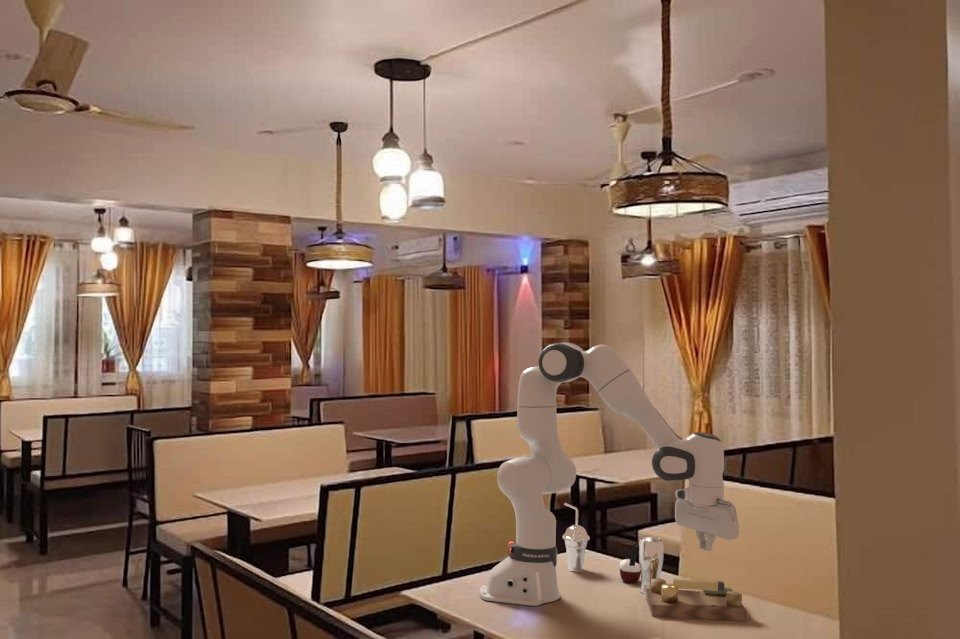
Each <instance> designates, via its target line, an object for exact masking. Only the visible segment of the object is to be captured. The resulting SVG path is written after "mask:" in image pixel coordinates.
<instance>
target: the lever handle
mask: <svg viewBox="0 0 960 639" xmlns="http://www.w3.org/2000/svg"><path fill="white" fill-rule="evenodd" d="M672 581H673V582H672V583H667V582H666V584H662V585H661V600H663V601H666V602H677V601H678V590H691V591H703V590H712V591H724V587H725V582H724V581H719V580H699V579H697V580H693V579H675V578H674V579H672Z"/></svg>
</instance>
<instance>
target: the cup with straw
mask: <svg viewBox="0 0 960 639" xmlns="http://www.w3.org/2000/svg"><path fill="white" fill-rule="evenodd" d="M563 505H564V506H566V507H569V508H571V509H573V510H575V524H572V525H570V526H569V527H567V528H566V530H565V533H563V534H562V539H563V540H564V545H565V549H566V551H565V552H566V560H567V561H566V562H567V563H566V564H567V567H568V568H567V570H568V571H570V572H573V571H575V573H576V572H578V573H579V572H582V571H583V570H584V569H583V568H584V564H585V554H586V548H587V544H588V541H590V536H589V535H588V533H587V530H586V529H585V528H584V527H583V526H581V525H579V509H578V508H577V507H576V506H574V505H572V504H569V503H567V502H564V503H563Z"/></svg>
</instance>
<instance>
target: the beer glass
mask: <svg viewBox="0 0 960 639" xmlns="http://www.w3.org/2000/svg"><path fill="white" fill-rule="evenodd" d="M664 555H665V554H664V539H662V538H661V537H657V536H642V537H639V544H638V562H639V563H638V564H640V570H641V575H640V578H641V579H640V585H639V592H640V593H641V594H644V595H646V588H651V579H656V578H657V579H661V574H662V569H663V564H664Z"/></svg>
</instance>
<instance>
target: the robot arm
mask: <svg viewBox="0 0 960 639" xmlns="http://www.w3.org/2000/svg"><path fill="white" fill-rule="evenodd" d="M581 378H583V379H585V380H586V381H588V382H589V384H590V385H591V386H592V388H593V389H594V390H595V391H596V392H597V395H599V397H600V398H601V400H602V401H603V402H604V403H605V405H606V406H608V407H609V409H611V410H612V411H613V412H614V413H616V414H618V415H621V416H625V417H627V418H629V419H631V420H633V421H634V422H636V424H637V425H639V426H640V428H641V429H642V431H644V433H645V434H646V435H647V437H648V438H649V439H650V441H651V442H652V443H653V445H654V446H655V448H656V449H657V450H656V451H655V452H654V453H653V456H652V458H651V459H652V460H651V466H652V469H653V471H654V473H655V474H656V476H657V477H658V478H660V479H661V480H664V481H667V482H676V481H683V480H684V481H685V480H688V487H685V488H680V489H677V490H675V493H674V496H675V498H676V501H675V503H674V505H675V506H674V519H675V522H676V524H677V525H678V526H681V527H685V528H687V529H691V530H694V531H695V535H696V538H697V540H698V542H699V544H698V545H699V549H701V550H705V551H707V552H711V551H712V550H713V544H714V542H715V540H716V538H717V537H718V538H721V539H724V540H726V541H727V540H729V541H730V540H736V539H738V537H739V535H740V530H739V527H740V526H739V518H738V513H737V508H736V507H735V505H734V504H733V502H731V501H727V500H725V496H724V495H725V483H724V478H723V474H724V470H725V452H724V446H723V442H722V440H721V438H720V437H718V436H717V435H713V434H711V433H708V432H707V433H706V432H701V431H700V432H699V431H694V432H692V433H691V434H689V435H688V436H686V437H684V438H682V437H681V436H679V435H678V434H676V432H675V431H674V430H673V429H672V427H670V425H669V424H668V423H667V421H666V420H665V419H664V418H663V417H662V415H661V414H660V413H659V411H658V410H657V409H656V408H655V406H654V405H653V403H652V401H651V400H650V398H649V397H648V395H647V394H646V392H645V390H644V387H643V386H642V385H641V383H640V382H639V379H637V376H636V375H635V374H634V372H633V371H632V370H631V368H630V367H629V365H628V364H627V363H626V362H625V361H624V359H622V357H621V356H620V355H619V354H618V353H617V352H616V351H615V350H614V349H613V348H612V347H610V346H609V345H606V344H597V345H594V346H592V347H591V348H589V349H588V350H585V348H584V347H583V346H581V345H579V344H577V343H572V342H567V341H566V342H565V341H563V342H562V341H561V342H555V343H551V344H549V345H547V346H546V347H545V348H544V349H543V350H542V351H541V353H540V354H539V357H538V366H531V367H527V368H526V369H524V370H523V371H522V372H521V374H520V377H519V380H518V382H519V383H518V390H517V403H516V404H517V406H516V408H517V409H516V410H517V412H516V413H517V414H516V416H517V417H516V419H517V420H516V422H517V424H516V426H517V427H516V428H517V429H516V430H517V434H518V436H519V437H520V438H521V439H522V440H524V441H525V442H527V444H528V446H529V450H530V456H518V457H514V458H512V459H509V460H507V461H504V462H503V463H501V465H499V468H498V470H497V474H496V481H497V485H498V488H499V489H500V491H501V492H502V494H503V495H504V496H506V497H507V498H508V500H509V501H510V502H511V504H512V507H513V509H514V510H513V511H514V513H515V514H514V515H515V525H516V526H515V529H516V530H515V531H516V532H515V542H514V541H511V540H510V541H509V542H508V544H507V549H508V556H507V557H506V558H504V559H503V560H502V561H500V562H499V563H498V564H496V565H495V566H494V567H492V568H491V570H490V573H489V576H488V579H487V582H485V583H484V584H482V585H481V586H480V588H479V597H480V598H481V599H482V600H484V601H489V602H491V601H492V602H497V603H507V604H514V605H523V606H524V605H525V606H533V607H536V606H541V604H546V603H552V602H555V601H557V600H559V599H560V598H561V593H560V590H559V586H558V579H557V578H558V577H557V564H558V546H557V544H556V537H557V534H556V532H557V531H556V530H557V527H556V526H557V520H556V519H557V518H556V516H555V515H554V513H553V512H551V511H550V510H548V509H547V508H546V506H545V501H544V495H548V494H549V495H550V494H556V493H560V492H562V491H565V490H567V489H569V488H570V487H572V486H573V485H574V484H575V482H576V478H577V469H576V466H575V465H576V464H575V462H574V461H573V460H572V459H571V458H570V457H569V456H568V455H567V454H566V452H565V451H564V449H563V447H562V445H561V442H560V438H559V434H558V425H557V424H558V423H557V418H558V416H557V392H558V388H559V386H560V385H564V384H567V383H571V382H574V381H575V382H576V381H577V380H579V379H581Z"/></svg>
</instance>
